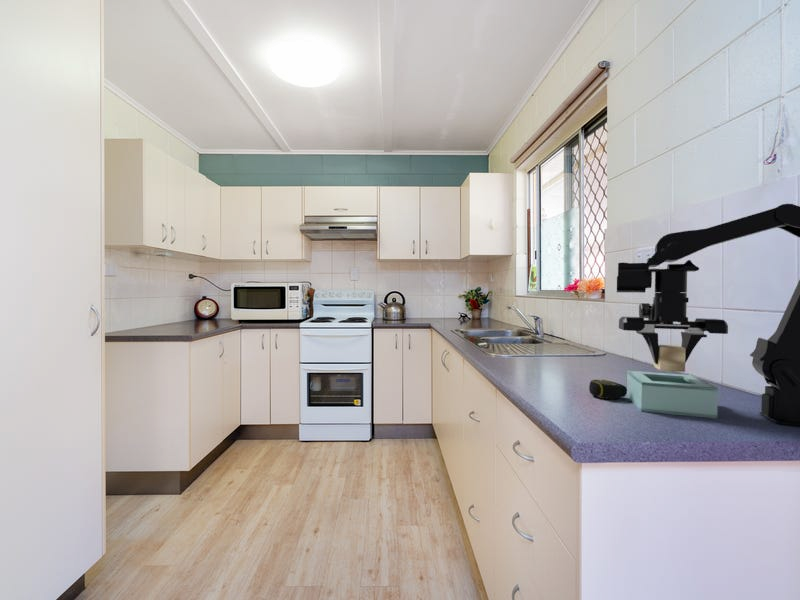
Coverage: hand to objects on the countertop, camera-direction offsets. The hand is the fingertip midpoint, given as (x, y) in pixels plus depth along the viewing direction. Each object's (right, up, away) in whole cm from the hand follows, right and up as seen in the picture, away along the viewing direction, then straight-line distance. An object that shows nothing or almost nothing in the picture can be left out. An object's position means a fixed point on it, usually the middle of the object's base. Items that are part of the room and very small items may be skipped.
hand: (669, 364), depth 84 cm
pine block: (0, -1, 0) cm, 1 cm away
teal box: (0, -9, 0) cm, 9 cm away
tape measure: (-9, -9, +8) cm, 15 cm away
